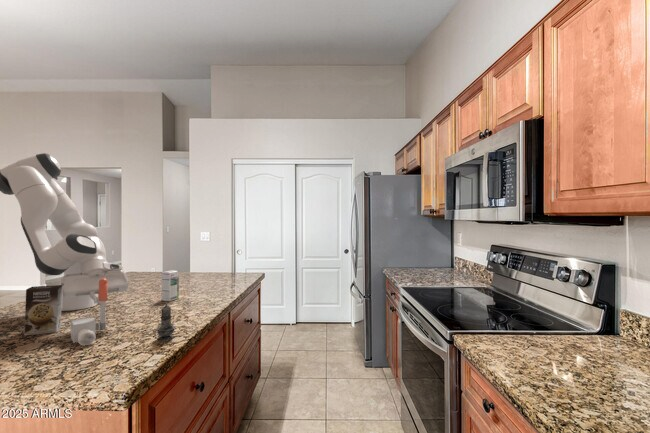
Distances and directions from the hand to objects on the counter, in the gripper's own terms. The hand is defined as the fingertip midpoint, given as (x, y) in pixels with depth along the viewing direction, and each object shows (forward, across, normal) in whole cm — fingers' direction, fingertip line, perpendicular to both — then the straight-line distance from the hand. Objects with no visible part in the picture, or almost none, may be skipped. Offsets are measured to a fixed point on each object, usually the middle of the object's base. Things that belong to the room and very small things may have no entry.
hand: (99, 302), depth 118 cm
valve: (+11, -5, +4) cm, 13 cm away
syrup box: (-14, +35, +29) cm, 48 cm away
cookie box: (-1, -15, +16) cm, 22 cm away
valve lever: (+10, 0, +3) cm, 10 cm away
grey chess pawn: (+25, +16, -10) cm, 31 cm away
